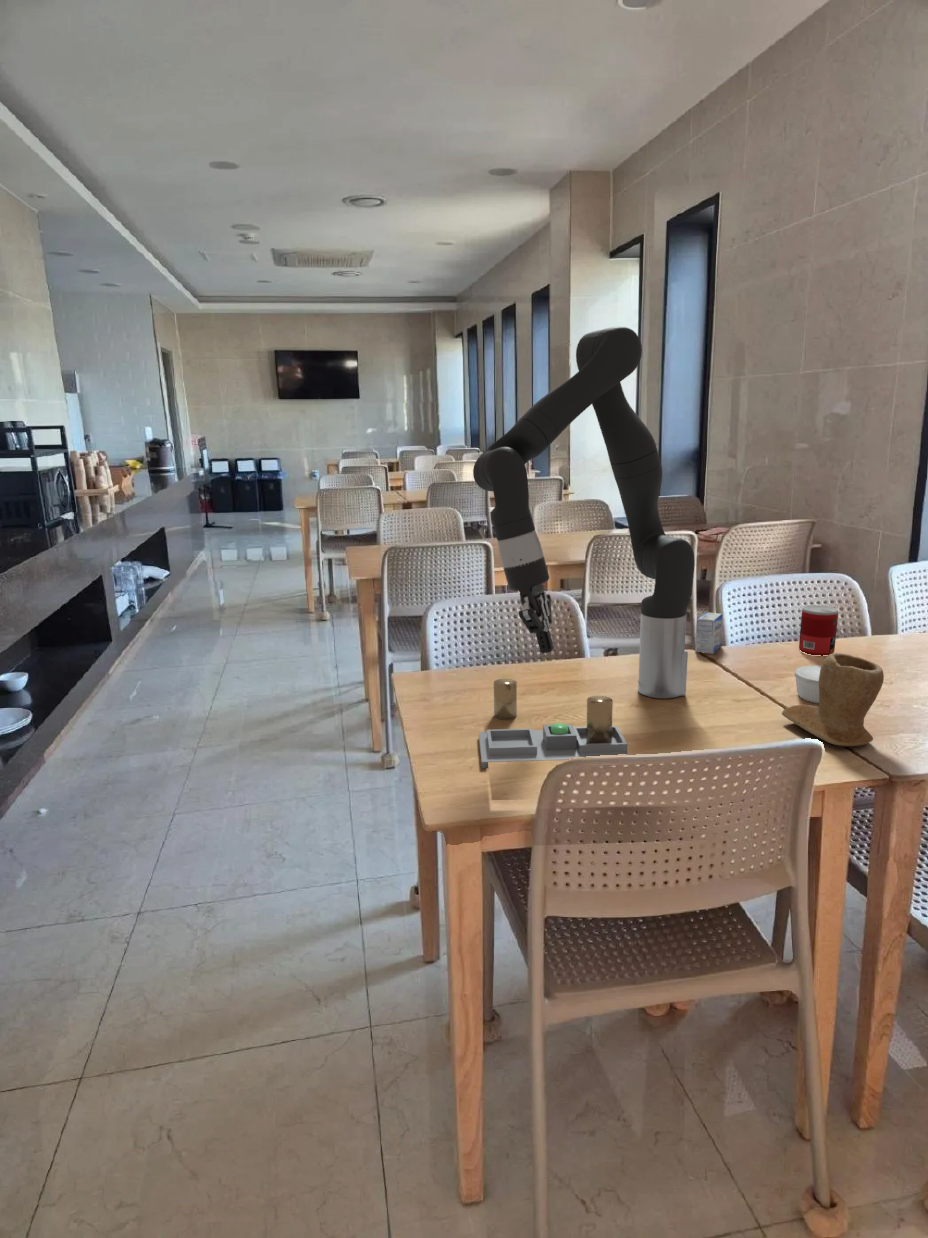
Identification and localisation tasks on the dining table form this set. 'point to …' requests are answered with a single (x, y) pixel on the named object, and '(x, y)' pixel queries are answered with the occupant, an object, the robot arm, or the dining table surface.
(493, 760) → the grey socket tray
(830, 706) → the tan hollow curved piece
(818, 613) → the canned food
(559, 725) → the button
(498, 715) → the cylinder
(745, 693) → the dining table surface
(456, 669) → the dining table surface
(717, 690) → the dining table surface
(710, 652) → the medicine box
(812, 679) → the ramekin
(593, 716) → the seated billet
